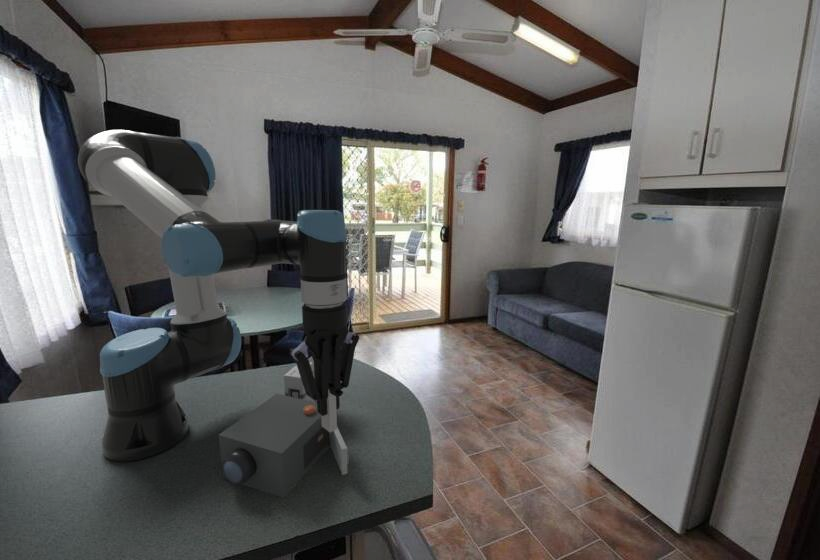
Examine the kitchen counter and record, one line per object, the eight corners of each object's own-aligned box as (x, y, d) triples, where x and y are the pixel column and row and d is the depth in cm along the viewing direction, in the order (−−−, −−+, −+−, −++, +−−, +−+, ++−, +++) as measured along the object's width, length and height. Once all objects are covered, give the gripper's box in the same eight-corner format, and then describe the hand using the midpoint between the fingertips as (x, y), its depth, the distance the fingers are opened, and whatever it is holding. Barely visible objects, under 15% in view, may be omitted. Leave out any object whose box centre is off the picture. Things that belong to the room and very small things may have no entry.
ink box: (302, 401, 96) (300, 348, 93) (320, 404, 95) (318, 350, 92) (285, 420, 88) (282, 363, 85) (304, 423, 87) (302, 365, 84)
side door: (330, 446, 78) (330, 423, 76) (338, 444, 78) (337, 421, 77) (342, 475, 70) (341, 449, 68) (350, 472, 70) (350, 447, 69)
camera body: (210, 487, 67) (205, 439, 65) (278, 429, 85) (276, 390, 82) (279, 511, 62) (276, 461, 60) (337, 445, 80) (336, 403, 78)
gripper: (301, 315, 55) (308, 454, 60) (368, 300, 64) (370, 421, 69) (277, 305, 60) (285, 433, 65) (343, 292, 70) (346, 406, 74)
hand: (329, 427), depth 67 cm, fingers closed
